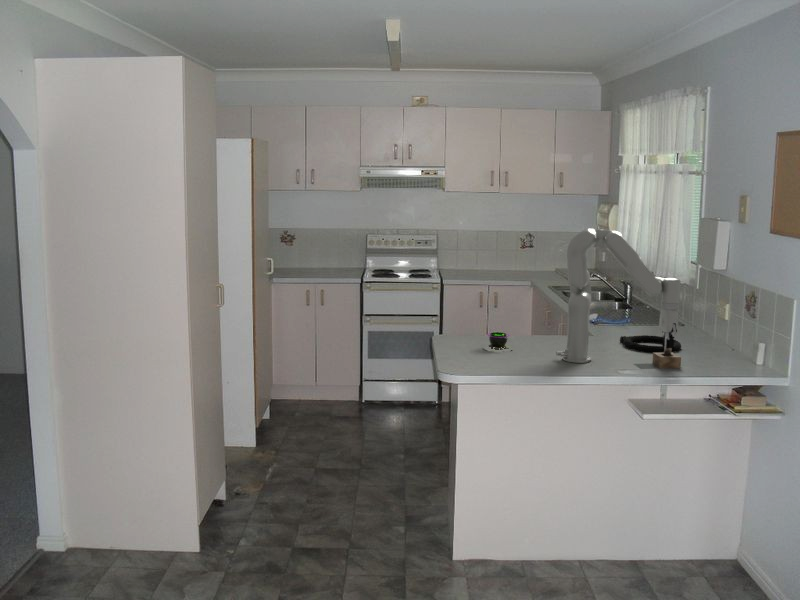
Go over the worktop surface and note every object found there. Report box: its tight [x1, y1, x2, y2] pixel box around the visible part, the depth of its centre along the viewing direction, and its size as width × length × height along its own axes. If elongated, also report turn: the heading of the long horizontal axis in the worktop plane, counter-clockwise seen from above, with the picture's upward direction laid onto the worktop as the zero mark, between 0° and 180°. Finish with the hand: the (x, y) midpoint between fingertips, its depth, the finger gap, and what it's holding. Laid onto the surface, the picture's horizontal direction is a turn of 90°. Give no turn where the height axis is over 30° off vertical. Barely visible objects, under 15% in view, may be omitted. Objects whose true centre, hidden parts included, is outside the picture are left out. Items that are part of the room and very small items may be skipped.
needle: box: [664, 331, 672, 356], centre depth 347 cm, size 3×3×14 cm
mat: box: [633, 363, 683, 370], centre depth 349 cm, size 19×9×1 cm, turn 95°
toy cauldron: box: [486, 326, 511, 350], centre depth 381 cm, size 15×15×11 cm
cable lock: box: [619, 334, 682, 354], centre depth 389 cm, size 28×4×30 cm
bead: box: [651, 352, 682, 369], centre depth 349 cm, size 9×9×5 cm
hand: (668, 346), depth 348 cm, fingers closed on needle, 3 cm apart
